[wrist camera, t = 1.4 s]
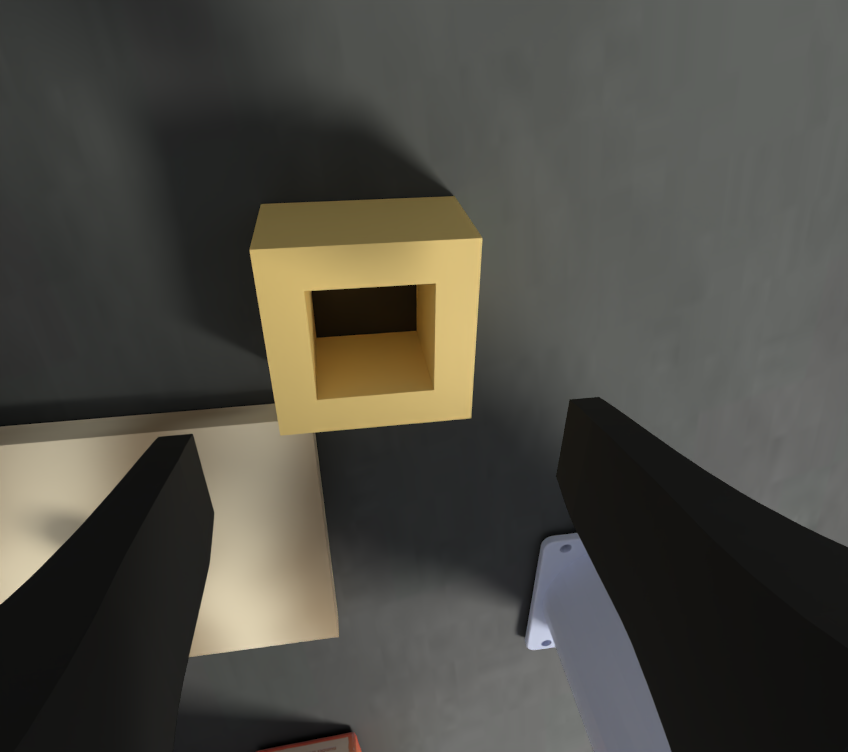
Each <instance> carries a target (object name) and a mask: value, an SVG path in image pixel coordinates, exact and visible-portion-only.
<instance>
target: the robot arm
mask: <svg viewBox="0 0 848 752" xmlns="http://www.w3.org/2000/svg"><path fill="white" fill-rule="evenodd" d="M556 477H557V480H558V483H559V486H560V489H561V492H562V495H563V498H564V501H565V504H566V507H567V510H568V512H569V515H570V518H571V521H572V523H573V525H574V527H575V529H576V531H577V533H571V534H563V535H555V536H550V537H548V538H546V539H545V540H544V541H543V542H542V544H541V548H540V554H539V559H538V565H537V571H536V577H535V583H534V589H533V595H532V601H531V606H530V612H529V618H528V624H527V630H526V636H525V643H526V646H527V648H528V649H531V650H538V649H545V648H552V647H556V650H557V652H558V655H559V658H560V661H561V663H562V666H563V669H564V672H565V674H566V677H567V680H568V683H569V685H570V688H571V691H572V694H573V696H574V699H575V702H576V705H577V707H578V710H579V713H580V716H581V718H582V721H583V724H584V727H585V729H586V732H587V735H588V738H589V740H590V743H591V746H592V749H593V751H594V752H848V547H846V546H844V545H842V544H839V543H837V542H835V541H833V540H831V539H828V538H826V537H824V536H822V535H820V534H818V533H816V532H814V531H812V530H810V529H808V528H806V527H803V526H801V525H799V524H798V523H796V522H794V521H792V520H790V519H788V518H786V517H784V516H782V515H781V514H779V513H777V512H775V511H773V510H771V509H769V508H768V507H766V506H764V505H762V504H760V503H758V502H756V501H755V500H753V499H751V498H750V497H748V496H746V495H744V494H743V493H741V492H739V491H738V490H736V489H734V488H733V487H731V486H729V485H728V484H726V483H725V482H723V481H721V480H720V479H718V478H717V477H715V476H713V475H712V474H710V473H708V472H707V471H705V470H704V469H702V468H701V467H699V466H698V465H696V464H695V463H693V462H692V461H690V460H689V459H687V458H686V457H684V456H683V455H681V454H680V453H678V452H677V451H676V450H674V449H673V448H671V447H670V446H668V445H667V444H665V443H664V442H663V441H661V440H660V439H658V438H657V437H655V436H654V435H653V434H651V433H650V432H648V431H647V430H646V429H644V428H643V427H641V426H640V425H639V424H637V423H636V422H634V421H633V420H632V419H630V418H629V417H628V416H626V415H625V414H623V413H622V412H620V411H619V410H618V409H616V408H615V407H613V406H612V405H610V404H609V403H607V402H606V401H604V400H603V399H601V398H600V397H594V398H583V399H572V400H570V401H569V407H568V412H567V418H566V424H565V429H564V435H563V441H562V446H561V452H560V458H559V463H558V469H557V475H556ZM213 525H214V509H213V506H212V502H211V498H210V495H209V491H208V487H207V484H206V480H205V476H204V473H203V469H202V465H201V462H200V458H199V454H198V451H197V447H196V443H195V439H194V436H193V434H184V435H173V436H162V437H158V438H157V439H156V440H155V441H154V442H153V443H152V444H151V445H150V446H149V448H148V449H147V450H146V451H145V452H144V453H143V455H142V456H141V457H140V458H139V459H138V460H137V462H136V463H135V464H134V465H133V466H132V468H131V469H130V470H129V471H128V472H127V474H126V475H125V476H124V477H123V478H122V479H121V481H120V482H119V483H118V484H117V485H116V486H115V488H114V489H113V490H112V491H111V492H110V493H109V495H108V496H107V497H106V498H105V499H104V500H103V501H102V502H101V504H100V505H99V506H98V507H97V508H96V509H95V510H94V511H93V513H92V514H91V515H90V516H89V517H88V518H87V519H86V520H85V522H84V523H83V524H82V525H81V526H80V527H79V528H78V529H77V530H76V531H75V532H74V533H73V535H72V536H71V537H70V538H69V539H68V540H67V541H66V542H65V543H64V544H63V545H62V546H61V547H60V548H59V549H58V550H57V551H56V552H55V553H54V554H53V555H52V556H51V557H50V558H49V559H48V560H47V561H46V562H45V563H44V564H43V565H42V566H41V567H40V568H39V569H38V570H37V571H36V572H35V573H34V574H33V575H32V576H31V577H30V578H29V579H28V580H27V581H26V582H25V583H24V584H23V585H22V586H20V587H19V588H18V589H17V590H16V591H15V592H14V593H13V594H12V595H11V596H9V597H8V598H7V599H6V600H5V601H4V602H3V603H2V604H0V752H173V747H174V739H175V731H176V723H177V715H178V708H179V702H180V697H181V691H182V686H183V681H184V676H185V672H186V667H187V663H188V659H189V654H190V650H191V645H192V641H193V637H194V632H195V628H196V624H197V619H198V615H199V610H200V606H201V602H202V597H203V593H204V588H205V583H206V579H207V574H208V570H209V565H210V557H211V547H212V537H213Z"/></svg>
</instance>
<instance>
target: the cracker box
mask: <svg viewBox="0 0 848 752" xmlns="http://www.w3.org/2000/svg"><path fill="white" fill-rule="evenodd" d="M255 752H361V749H360V746H359V743H358V740H357V736H356V734H355V732H349V733H345V734H340V735H334V736H329V737H324V738H319V739H314V740H309V741H304V742H298V743H293V744H288V745H283V746H277V747H272V748H268V749H263V750H258V751H255Z"/></svg>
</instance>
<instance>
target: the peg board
mask: <svg viewBox="0 0 848 752" xmlns="http://www.w3.org/2000/svg"><path fill="white" fill-rule="evenodd" d="M184 434H193V436H194V439H195V443H196V447H197V451H198V454H199V458H200V462H201V465H202V469H203V473H204V476H205V480H206V484H207V487H208V491H209V495H210V498H211V502H212V506H213V509H214V525H213V537H212V547H211V557H210V565H209V570H208V574H207V579H206V583H205V588H204V593H203V597H202V602H201V606H200V610H199V615H198V619H197V624H196V628H195V632H194V637H193V641H192V645H191V650H190V654H189V657H193V656H201V655H208V654H215V653H223V652H230V651H237V650H245V649H252V648H259V647H267V646H274V645H281V644H289V643H296V642H303V641H311V640H318V639H326V638H333V637H339V629H338V612H337V604H336V596H335V588H334V580H333V572H332V564H331V555H330V547H329V539H328V531H327V523H326V515H325V507H324V499H323V491H322V483H321V475H320V467H319V458H318V450H317V442H316V434H315V433H304V434H293V435H282V436H280V431H279V425H278V419H277V413H276V407H275V404H263V405H252V406H240V407H228V408H216V409H204V410H192V411H180V412H168V413H156V414H144V415H132V416H120V417H109V418H97V419H85V420H73V421H61V422H49V423H37V424H25V425H13V426H1V427H0V604H2V603H3V602H4V601H5V600H6V599H7V598H8V597H9V596H11V595H12V594H13V593H14V592H15V591H16V590H17V589H18V588H19V587H20V586H22V585H23V584H24V583H25V582H26V581H27V580H28V579H29V578H30V577H31V576H32V575H33V574H34V573H35V572H36V571H37V570H38V569H39V568H40V567H41V566H42V565H43V564H44V563H45V562H46V561H47V560H48V559H49V558H50V557H51V556H52V555H53V554H54V553H55V552H56V551H57V550H58V549H59V548H60V547H61V546H62V545H63V544H64V543H65V542H66V541H67V540H68V539H69V538H70V537H71V536H72V535H73V533H74V532H75V531H76V530H77V529H78V528H79V527H80V526H81V525H82V524H83V523H84V522H85V520H86V519H87V518H88V517H89V516H90V515H91V514H92V513H93V511H94V510H95V509H96V508H97V507H98V506H99V505H100V504H101V502H102V501H103V500H104V499H105V498H106V497H107V496H108V495H109V493H110V492H111V491H112V490H113V489H114V488H115V486H116V485H117V484H118V483H119V482H120V481H121V479H122V478H123V477H124V476H125V475H126V474H127V472H128V471H129V470H130V469H131V468H132V466H133V465H134V464H135V463H136V462H137V460H138V459H139V458H140V457H141V456H142V455H143V453H144V452H145V451H146V450H147V449H148V448H149V446H150V445H151V444H152V443H153V442H154V441H155V440H156V439H157V438H158V437H162V436H173V435H184Z"/></svg>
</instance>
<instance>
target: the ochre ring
mask: <svg viewBox="0 0 848 752" xmlns="http://www.w3.org/2000/svg"><path fill="white" fill-rule="evenodd" d="M249 250H250V256H251V262H252V268H253V274H254V280H255V286H256V292H257V298H258V304H259V310H260V316H261V322H262V328H263V334H264V340H265V347H266V353H267V359H268V365H269V371H270V377H271V383H272V389H273V395H274V401H275V407H276V413H277V419H278V425H279V431H280V436H282V435H293V434H304V433H315V432H326V431H337V430H348V429H359V428H370V427H381V426H392V425H403V424H414V423H425V422H436V421H447V420H458V419H469V418H471V412H472V396H473V380H474V364H475V348H476V332H477V316H478V300H479V284H480V268H481V252H482V237H481V235H480V234H479V232H478V231H477V229H476V228H475V226H474V225H473V223H472V222H471V220H470V219H469V217H468V216H467V214H466V213H465V211H464V210H463V208H462V207H461V205H460V204H459V202H458V201H457V199H456V198H455V196H445V197H421V198H396V199H371V200H347V201H322V202H298V203H273V204H261V205H260V209H259V213H258V217H257V221H256V225H255V229H254V233H253V237H252V241H251V245H250V249H249ZM400 285H417V331H406V332H392V333H377V334H363V335H349V336H335V337H321V338H316V328H315V319H314V310H313V301H312V292H311V291H317V290H334V289H350V288H367V287H384V286H400Z"/></svg>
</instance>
